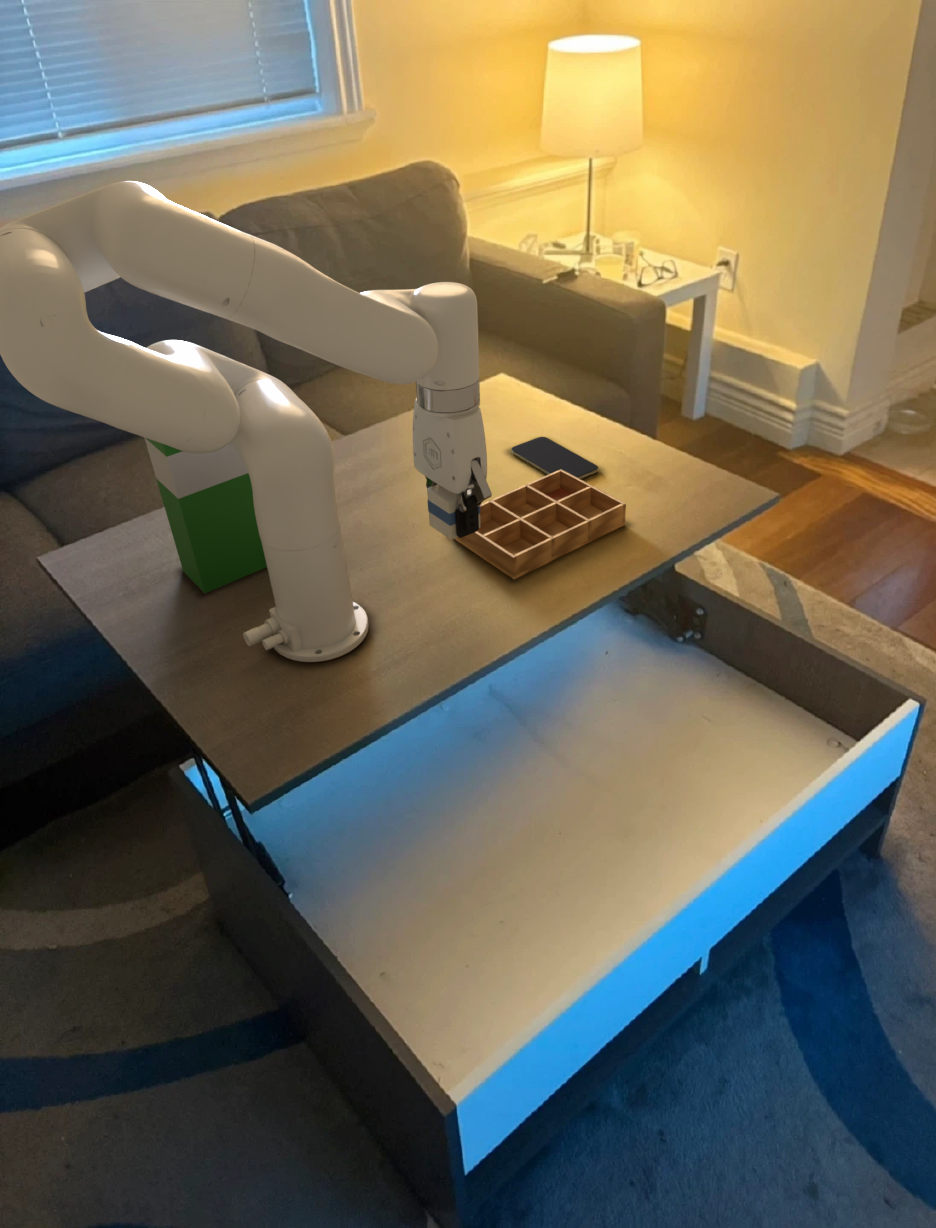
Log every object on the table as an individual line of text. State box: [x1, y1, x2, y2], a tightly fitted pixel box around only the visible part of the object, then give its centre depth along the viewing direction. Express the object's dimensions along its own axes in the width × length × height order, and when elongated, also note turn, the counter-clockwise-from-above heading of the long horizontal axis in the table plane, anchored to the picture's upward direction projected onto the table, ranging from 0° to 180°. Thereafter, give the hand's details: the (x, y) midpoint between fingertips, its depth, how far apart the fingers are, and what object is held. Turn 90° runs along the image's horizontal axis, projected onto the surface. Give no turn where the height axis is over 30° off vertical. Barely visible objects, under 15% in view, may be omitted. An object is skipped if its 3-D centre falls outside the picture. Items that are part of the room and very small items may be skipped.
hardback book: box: [143, 437, 267, 594], centre depth 130 cm, size 18×7×24 cm, turn 127°
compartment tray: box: [454, 469, 627, 581], centre depth 137 cm, size 21×14×4 cm
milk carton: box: [426, 484, 480, 541], centre depth 122 cm, size 5×5×6 cm
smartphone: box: [511, 436, 599, 480], centre depth 155 cm, size 7×1×15 cm
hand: (454, 523), depth 123 cm, fingers closed on milk carton, 4 cm apart
